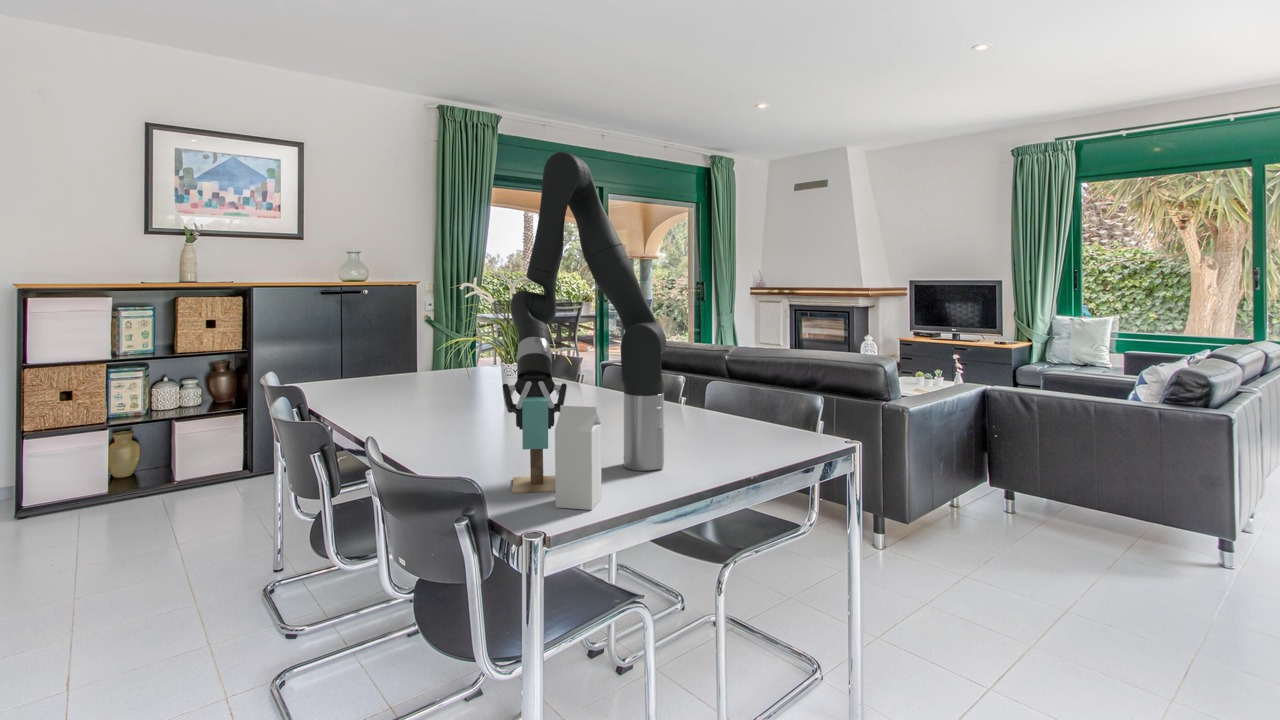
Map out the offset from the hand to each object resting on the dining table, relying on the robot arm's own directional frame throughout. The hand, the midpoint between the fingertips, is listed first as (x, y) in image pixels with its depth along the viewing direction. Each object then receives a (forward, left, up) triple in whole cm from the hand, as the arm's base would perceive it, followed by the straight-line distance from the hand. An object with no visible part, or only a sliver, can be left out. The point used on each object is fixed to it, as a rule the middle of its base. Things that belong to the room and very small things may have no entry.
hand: (535, 426), depth 137 cm
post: (0, -2, -13) cm, 13 cm away
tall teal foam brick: (+1, -2, -4) cm, 5 cm away
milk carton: (-11, +9, -13) cm, 19 cm away
